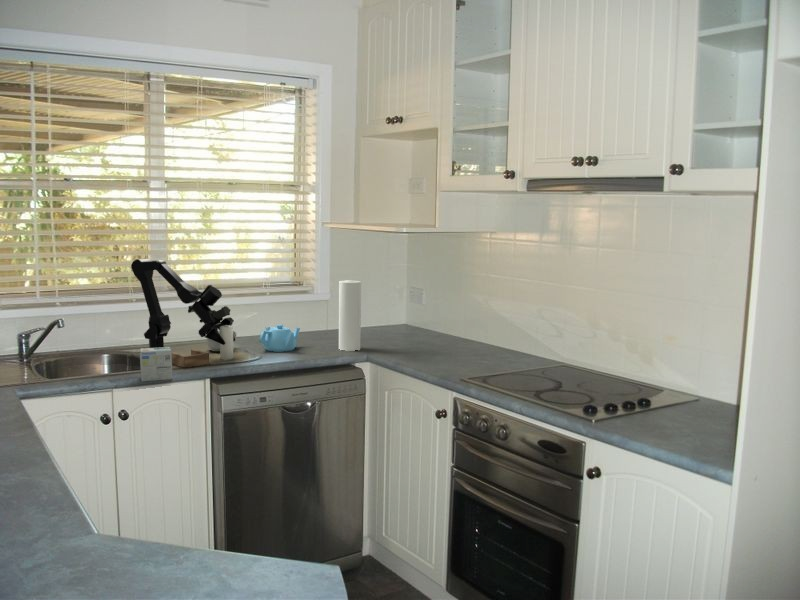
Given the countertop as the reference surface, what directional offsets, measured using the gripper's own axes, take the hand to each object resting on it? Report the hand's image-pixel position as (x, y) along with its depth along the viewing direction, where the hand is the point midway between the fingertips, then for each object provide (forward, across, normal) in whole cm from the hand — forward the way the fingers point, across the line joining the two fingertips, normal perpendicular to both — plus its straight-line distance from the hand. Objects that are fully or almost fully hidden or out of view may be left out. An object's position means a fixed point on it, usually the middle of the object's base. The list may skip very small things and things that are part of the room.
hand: (229, 342), depth 307 cm
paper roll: (+4, 0, +6) cm, 7 cm away
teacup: (-4, +15, +13) cm, 20 cm away
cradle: (-2, -14, +12) cm, 18 cm away
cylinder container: (+31, +37, -21) cm, 53 cm away
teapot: (+12, +26, -2) cm, 28 cm away
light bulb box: (0, -40, +10) cm, 41 cm away
